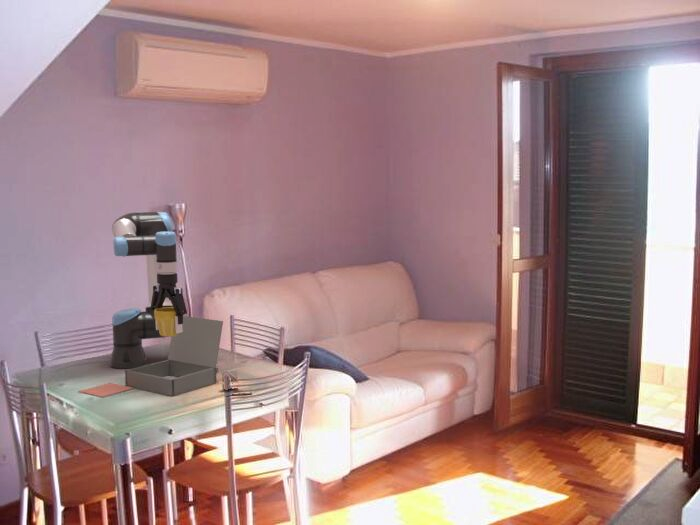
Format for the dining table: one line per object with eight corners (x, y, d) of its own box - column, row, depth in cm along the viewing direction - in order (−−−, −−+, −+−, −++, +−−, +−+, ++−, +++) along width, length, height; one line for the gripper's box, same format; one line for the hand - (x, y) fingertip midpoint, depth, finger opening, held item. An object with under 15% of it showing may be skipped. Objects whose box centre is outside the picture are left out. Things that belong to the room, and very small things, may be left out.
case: (125, 386, 296) (122, 324, 294) (178, 371, 318) (176, 314, 315) (172, 396, 281) (169, 331, 279) (225, 380, 303) (223, 320, 300)
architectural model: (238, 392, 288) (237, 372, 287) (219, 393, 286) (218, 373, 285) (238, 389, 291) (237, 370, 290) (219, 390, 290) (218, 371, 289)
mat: (78, 392, 289) (78, 390, 289) (110, 383, 300) (110, 382, 300) (102, 397, 281) (102, 396, 281) (133, 388, 292) (133, 387, 292)
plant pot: (177, 330, 303) (176, 305, 302) (187, 335, 295) (186, 310, 293) (151, 333, 298) (150, 308, 297) (160, 338, 289) (159, 312, 288)
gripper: (138, 271, 297) (141, 329, 300) (180, 276, 284) (182, 336, 286) (154, 269, 303) (156, 325, 306) (195, 274, 290) (197, 332, 292)
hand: (169, 330), depth 296 cm, fingers closed on plant pot, 10 cm apart
